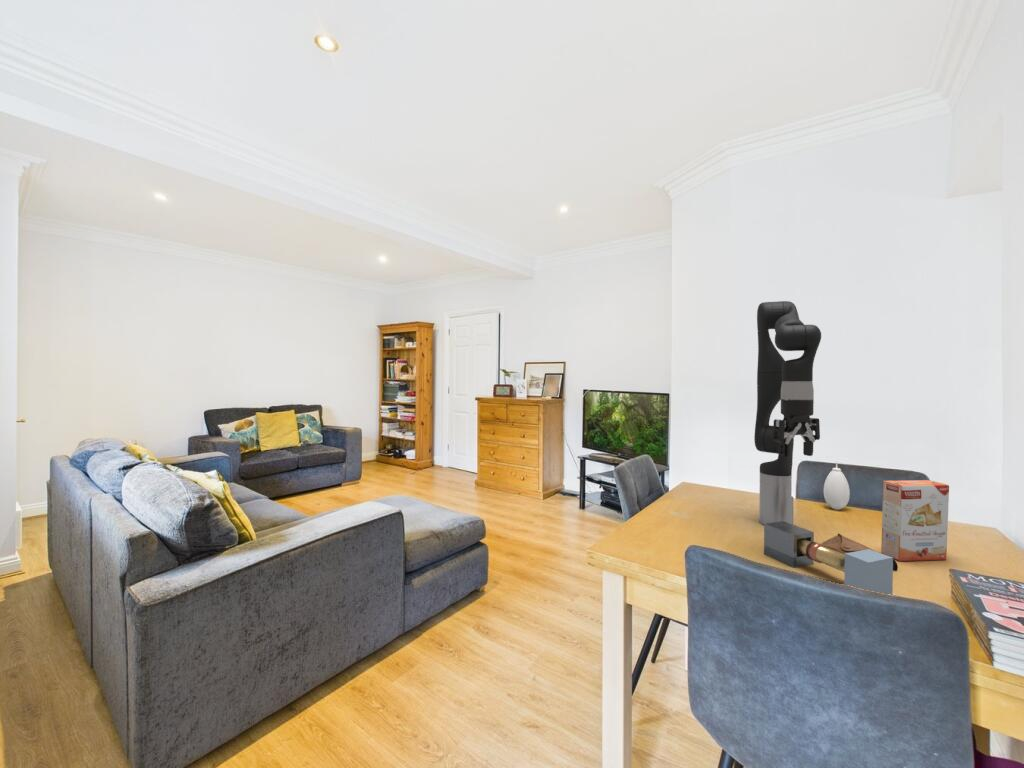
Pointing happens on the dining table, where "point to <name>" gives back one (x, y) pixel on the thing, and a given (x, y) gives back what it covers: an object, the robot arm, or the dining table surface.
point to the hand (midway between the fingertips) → (796, 456)
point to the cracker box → (915, 520)
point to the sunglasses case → (848, 546)
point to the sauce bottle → (836, 489)
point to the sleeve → (786, 543)
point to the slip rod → (821, 554)
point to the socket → (869, 571)
